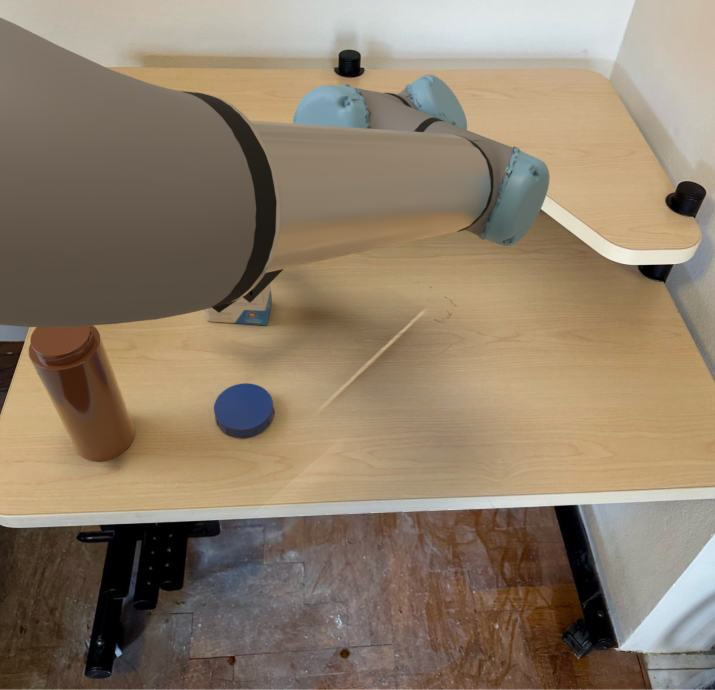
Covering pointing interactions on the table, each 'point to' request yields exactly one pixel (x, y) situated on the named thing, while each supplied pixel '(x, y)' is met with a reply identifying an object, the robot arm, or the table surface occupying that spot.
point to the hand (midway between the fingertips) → (227, 269)
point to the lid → (243, 410)
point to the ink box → (244, 310)
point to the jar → (83, 389)
